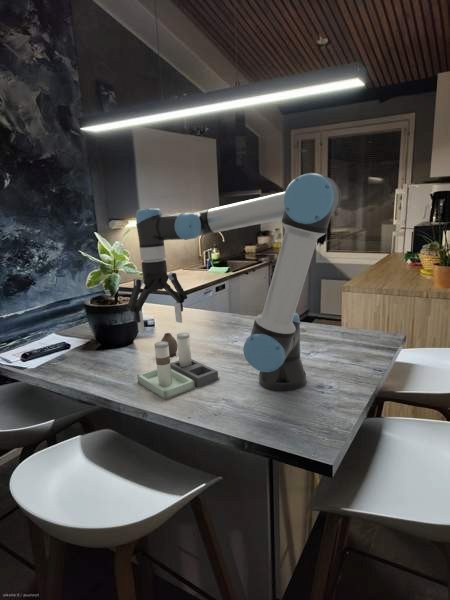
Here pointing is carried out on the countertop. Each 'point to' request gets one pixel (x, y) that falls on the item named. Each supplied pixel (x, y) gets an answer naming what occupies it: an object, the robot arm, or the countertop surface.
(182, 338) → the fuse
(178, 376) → the tray
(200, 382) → the fuse block
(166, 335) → the vase
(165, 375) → the cylinder
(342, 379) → the countertop surface
